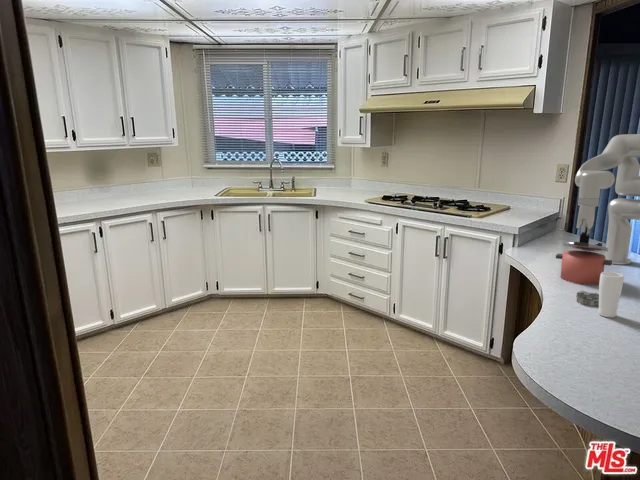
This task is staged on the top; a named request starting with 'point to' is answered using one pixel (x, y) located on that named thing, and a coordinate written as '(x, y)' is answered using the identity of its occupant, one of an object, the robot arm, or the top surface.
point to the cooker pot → (582, 266)
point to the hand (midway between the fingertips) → (583, 244)
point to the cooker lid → (585, 246)
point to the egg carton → (588, 298)
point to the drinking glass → (609, 293)
